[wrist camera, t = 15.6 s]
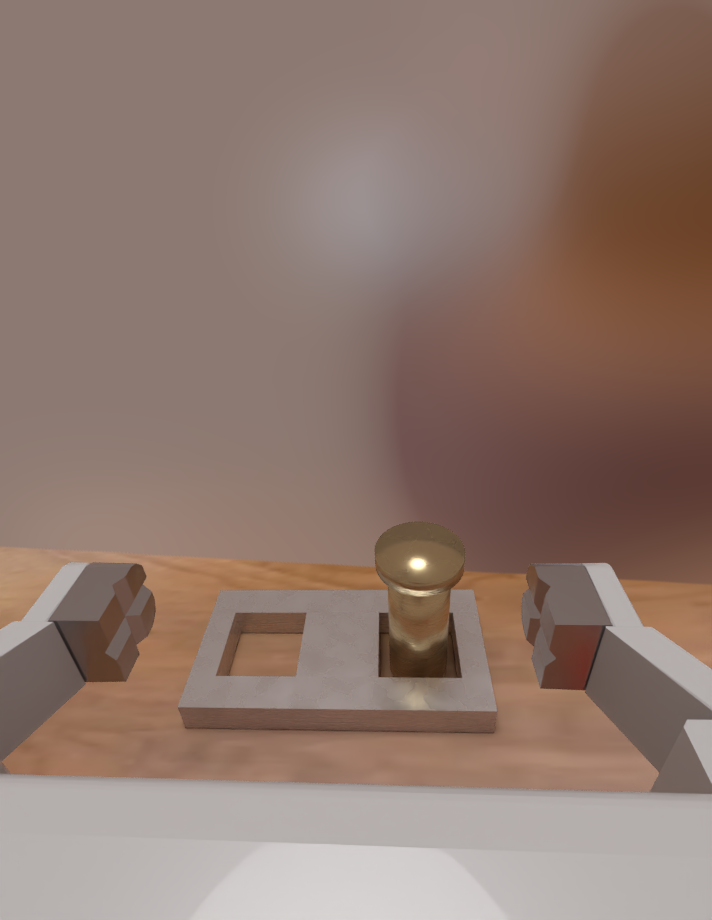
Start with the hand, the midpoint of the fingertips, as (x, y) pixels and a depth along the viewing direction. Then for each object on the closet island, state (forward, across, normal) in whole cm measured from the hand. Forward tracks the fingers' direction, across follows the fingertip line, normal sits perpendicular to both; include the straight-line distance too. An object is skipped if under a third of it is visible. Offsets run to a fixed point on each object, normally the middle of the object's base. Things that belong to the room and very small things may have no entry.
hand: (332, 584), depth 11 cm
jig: (+18, +3, +28) cm, 33 cm away
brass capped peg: (+18, -3, +27) cm, 33 cm away
